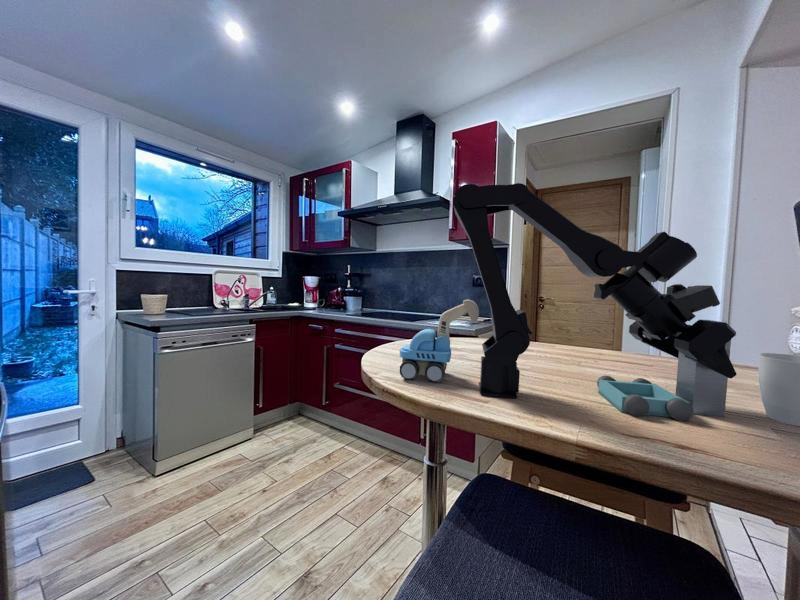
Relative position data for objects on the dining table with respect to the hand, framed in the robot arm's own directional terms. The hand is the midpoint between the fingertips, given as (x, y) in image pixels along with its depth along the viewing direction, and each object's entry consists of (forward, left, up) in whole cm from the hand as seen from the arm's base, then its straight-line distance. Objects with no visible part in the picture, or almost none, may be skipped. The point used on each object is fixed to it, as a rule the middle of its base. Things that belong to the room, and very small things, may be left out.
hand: (710, 368), depth 54 cm
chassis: (-10, 0, -7) cm, 13 cm away
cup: (+11, -1, -7) cm, 13 cm away
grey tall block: (-1, 0, -7) cm, 7 cm away
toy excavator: (-46, +6, -8) cm, 47 cm away
